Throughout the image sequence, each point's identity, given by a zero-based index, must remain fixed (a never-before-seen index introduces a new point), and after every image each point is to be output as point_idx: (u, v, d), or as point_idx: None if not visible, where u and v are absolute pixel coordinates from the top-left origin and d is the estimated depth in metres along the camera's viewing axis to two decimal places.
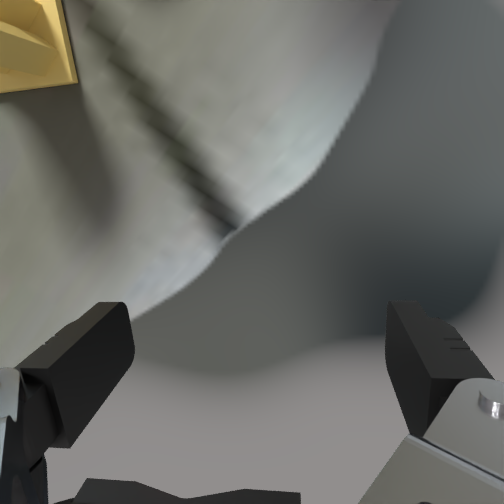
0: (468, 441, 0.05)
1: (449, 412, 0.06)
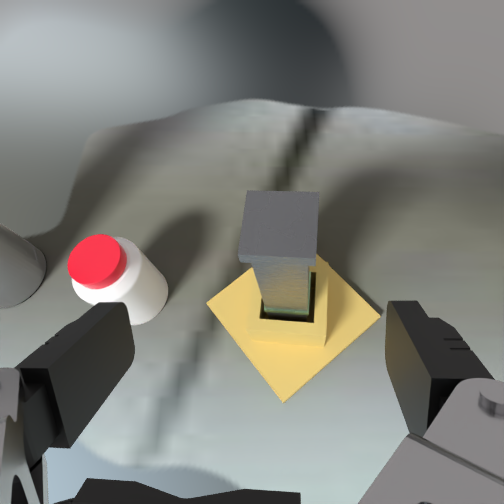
0: (468, 441, 0.05)
1: (449, 412, 0.06)
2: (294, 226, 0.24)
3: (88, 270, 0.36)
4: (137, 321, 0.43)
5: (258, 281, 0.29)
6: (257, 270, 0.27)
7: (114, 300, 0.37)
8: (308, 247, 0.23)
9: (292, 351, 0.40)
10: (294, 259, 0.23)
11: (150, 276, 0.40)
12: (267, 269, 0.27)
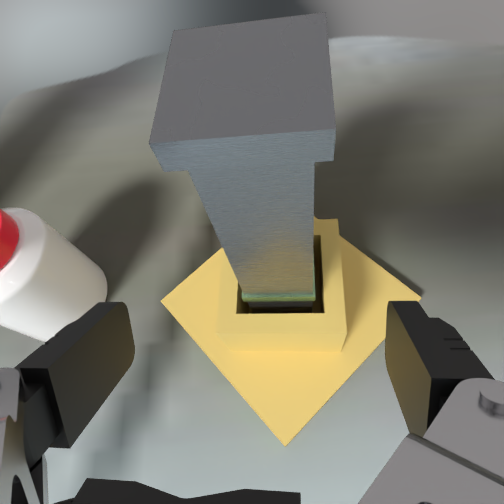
0: (468, 441, 0.05)
1: (449, 412, 0.06)
2: (277, 74, 0.11)
3: None
4: None
5: (220, 235, 0.15)
6: (211, 204, 0.13)
7: None
8: (314, 109, 0.10)
9: (293, 362, 0.26)
10: (283, 142, 0.10)
11: (67, 264, 0.26)
12: (230, 199, 0.13)
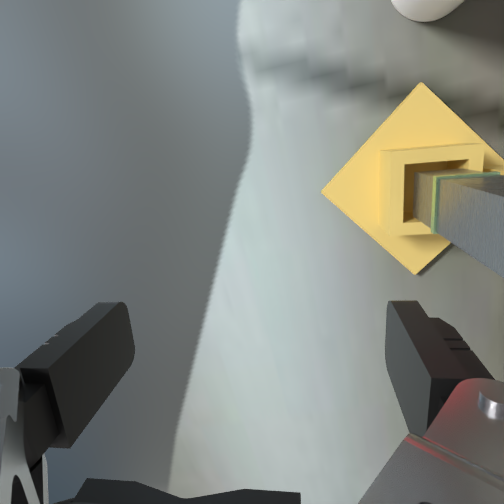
0: (468, 441, 0.05)
1: (449, 412, 0.06)
2: None
3: None
4: None
5: (485, 194, 0.20)
6: None
7: None
8: None
9: (371, 195, 0.39)
10: None
11: None
12: None
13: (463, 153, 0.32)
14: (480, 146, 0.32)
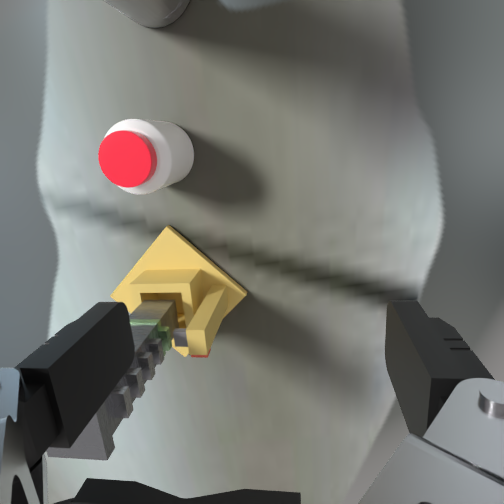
0: (468, 441, 0.05)
1: (449, 412, 0.06)
2: None
3: (111, 159, 0.36)
4: None
5: None
6: None
7: None
8: (55, 452, 0.29)
9: None
10: None
11: None
12: None
13: (176, 288, 0.45)
14: (186, 284, 0.45)
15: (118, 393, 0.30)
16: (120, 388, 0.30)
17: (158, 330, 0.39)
